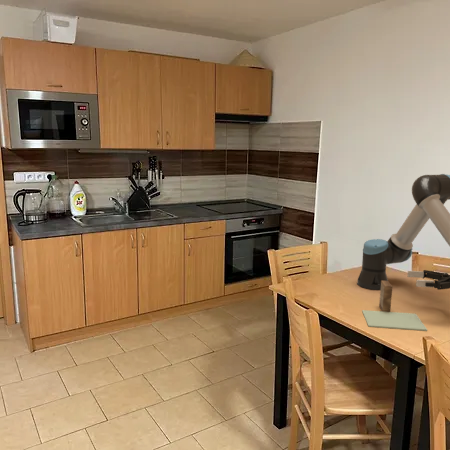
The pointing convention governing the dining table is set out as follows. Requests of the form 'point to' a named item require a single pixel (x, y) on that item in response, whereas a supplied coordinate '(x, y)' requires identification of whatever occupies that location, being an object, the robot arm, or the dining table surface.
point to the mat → (393, 320)
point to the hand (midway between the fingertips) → (411, 278)
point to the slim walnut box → (385, 296)
